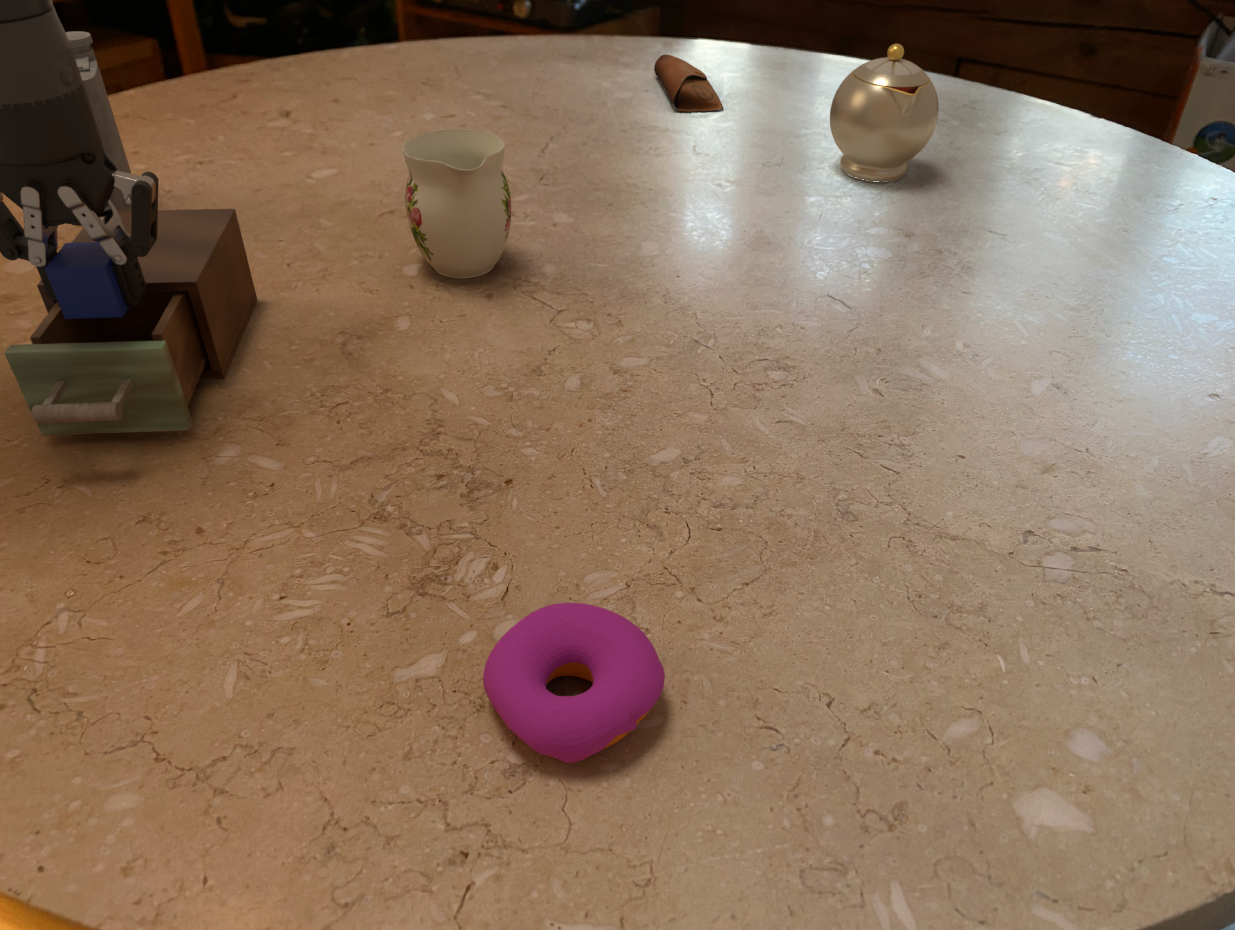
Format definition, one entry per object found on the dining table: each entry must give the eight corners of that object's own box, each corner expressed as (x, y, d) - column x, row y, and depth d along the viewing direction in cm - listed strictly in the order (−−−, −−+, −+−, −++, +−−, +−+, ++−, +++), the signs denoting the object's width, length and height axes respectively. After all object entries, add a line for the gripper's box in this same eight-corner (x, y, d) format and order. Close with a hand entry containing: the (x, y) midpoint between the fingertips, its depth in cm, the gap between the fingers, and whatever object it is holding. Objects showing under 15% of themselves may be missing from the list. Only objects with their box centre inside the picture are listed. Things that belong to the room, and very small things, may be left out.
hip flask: (101, 192, 116) (42, 18, 103) (136, 186, 118) (83, 14, 105) (115, 244, 105) (52, 56, 93) (154, 237, 107) (97, 52, 94)
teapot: (941, 192, 122) (974, 60, 112) (841, 196, 120) (865, 62, 110) (891, 142, 136) (916, 21, 126) (800, 145, 134) (818, 22, 124)
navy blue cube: (64, 319, 74) (44, 268, 71) (84, 292, 77) (65, 242, 74) (123, 317, 74) (104, 266, 71) (139, 290, 77) (123, 241, 75)
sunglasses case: (727, 107, 144) (708, 69, 140) (687, 132, 146) (668, 95, 142) (702, 72, 158) (684, 36, 154) (665, 95, 160) (647, 60, 156)
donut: (462, 681, 59) (456, 633, 56) (595, 613, 64) (595, 565, 61) (550, 803, 53) (548, 756, 50) (690, 717, 58) (696, 669, 55)
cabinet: (224, 379, 85) (196, 281, 79) (76, 383, 84) (36, 285, 78) (257, 298, 96) (235, 208, 90) (128, 302, 95) (96, 210, 89)
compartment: (173, 466, 74) (143, 382, 69) (18, 472, 73) (-24, 387, 68) (226, 343, 88) (205, 266, 83) (97, 347, 87) (68, 269, 82)
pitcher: (492, 221, 112) (484, 104, 103) (531, 291, 99) (526, 163, 90) (399, 232, 109) (383, 113, 101) (427, 306, 96) (412, 175, 87)
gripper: (144, 65, 68) (205, 278, 79) (-63, 66, 67) (27, 282, 78) (111, 99, 62) (181, 323, 73) (-117, 101, 61) (-12, 329, 72)
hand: (101, 301), depth 75 cm, fingers closed on navy blue cube, 4 cm apart
